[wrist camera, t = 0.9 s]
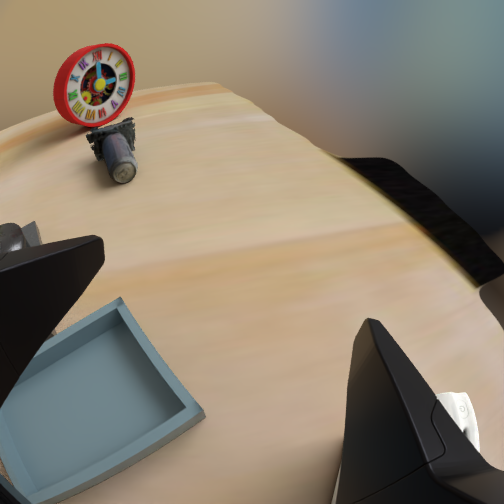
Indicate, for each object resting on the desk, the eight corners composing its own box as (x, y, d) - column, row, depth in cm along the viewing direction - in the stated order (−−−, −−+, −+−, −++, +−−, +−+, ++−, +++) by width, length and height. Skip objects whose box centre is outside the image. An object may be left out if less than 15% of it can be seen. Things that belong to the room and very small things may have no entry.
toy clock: (72, 141, 49) (59, 56, 34) (61, 137, 50) (48, 58, 36) (137, 109, 61) (134, 36, 47) (123, 107, 63) (119, 38, 49)
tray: (45, 507, 10) (25, 507, 8) (-5, 396, 15) (-23, 384, 13) (205, 417, 19) (203, 409, 17) (129, 314, 24) (120, 296, 22)
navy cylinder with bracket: (98, 165, 44) (111, 201, 39) (83, 131, 38) (91, 162, 32) (142, 143, 47) (163, 174, 41) (131, 108, 41) (151, 132, 35)
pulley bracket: (-10, 384, 16) (-44, 359, 12) (-25, 268, 24) (-43, 239, 20) (73, 332, 22) (47, 298, 18) (38, 228, 30) (24, 196, 26)
